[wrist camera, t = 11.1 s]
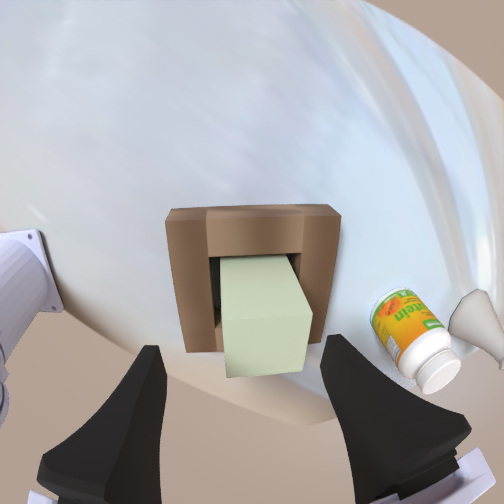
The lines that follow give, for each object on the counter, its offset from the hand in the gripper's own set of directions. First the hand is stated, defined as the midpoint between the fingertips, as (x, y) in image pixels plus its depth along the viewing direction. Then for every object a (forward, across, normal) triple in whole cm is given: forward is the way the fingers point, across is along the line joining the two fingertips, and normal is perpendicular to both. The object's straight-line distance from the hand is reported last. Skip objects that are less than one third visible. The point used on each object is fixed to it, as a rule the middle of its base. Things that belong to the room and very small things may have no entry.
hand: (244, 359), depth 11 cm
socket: (+10, -2, +2) cm, 11 cm away
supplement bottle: (+10, -16, +7) cm, 20 cm away
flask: (+10, -30, +10) cm, 33 cm away
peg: (+10, -1, +2) cm, 11 cm away
